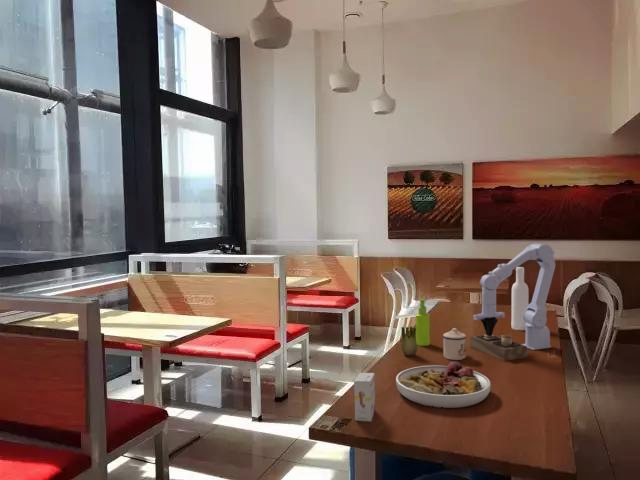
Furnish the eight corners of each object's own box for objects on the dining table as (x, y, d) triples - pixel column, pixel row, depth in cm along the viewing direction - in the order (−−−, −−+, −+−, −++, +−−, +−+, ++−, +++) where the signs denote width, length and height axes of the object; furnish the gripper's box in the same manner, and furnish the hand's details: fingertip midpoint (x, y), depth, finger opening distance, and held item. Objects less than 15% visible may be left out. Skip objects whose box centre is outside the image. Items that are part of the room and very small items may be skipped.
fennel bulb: (400, 355, 219) (399, 326, 218) (406, 352, 223) (406, 324, 222) (412, 357, 215) (412, 328, 214) (418, 355, 219) (418, 326, 218)
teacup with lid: (463, 361, 209) (462, 332, 208) (440, 358, 213) (439, 330, 212) (470, 353, 219) (470, 325, 218) (448, 351, 223) (448, 323, 223)
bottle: (531, 330, 256) (531, 268, 254) (514, 330, 256) (514, 268, 254) (525, 326, 264) (525, 266, 262) (509, 326, 264) (509, 266, 262)
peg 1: (490, 345, 228) (490, 333, 228) (496, 347, 224) (496, 335, 224) (481, 346, 227) (481, 334, 227) (488, 348, 223) (488, 336, 223)
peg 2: (507, 345, 218) (507, 333, 217) (514, 348, 214) (514, 336, 214) (498, 347, 216) (498, 334, 216) (505, 349, 213) (505, 337, 212)
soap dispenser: (430, 342, 238) (430, 297, 237) (428, 346, 232) (428, 300, 230) (417, 341, 240) (417, 297, 239) (415, 345, 234) (414, 300, 232)
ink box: (359, 409, 162) (358, 371, 162) (375, 410, 161) (375, 372, 160) (354, 420, 154) (353, 380, 153) (371, 422, 153) (370, 381, 152)
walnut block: (491, 344, 233) (491, 332, 232) (527, 357, 212) (527, 344, 212) (470, 347, 229) (470, 335, 229) (504, 360, 208) (504, 347, 208)
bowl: (475, 419, 154) (475, 392, 154) (381, 400, 170) (380, 376, 169) (500, 387, 179) (500, 364, 179) (416, 374, 195) (416, 353, 195)
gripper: (497, 300, 231) (497, 331, 232) (468, 303, 226) (468, 334, 227) (508, 303, 224) (507, 335, 225) (479, 306, 219) (479, 338, 220)
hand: (489, 335), depth 225 cm, fingers closed, pressing on peg 1
